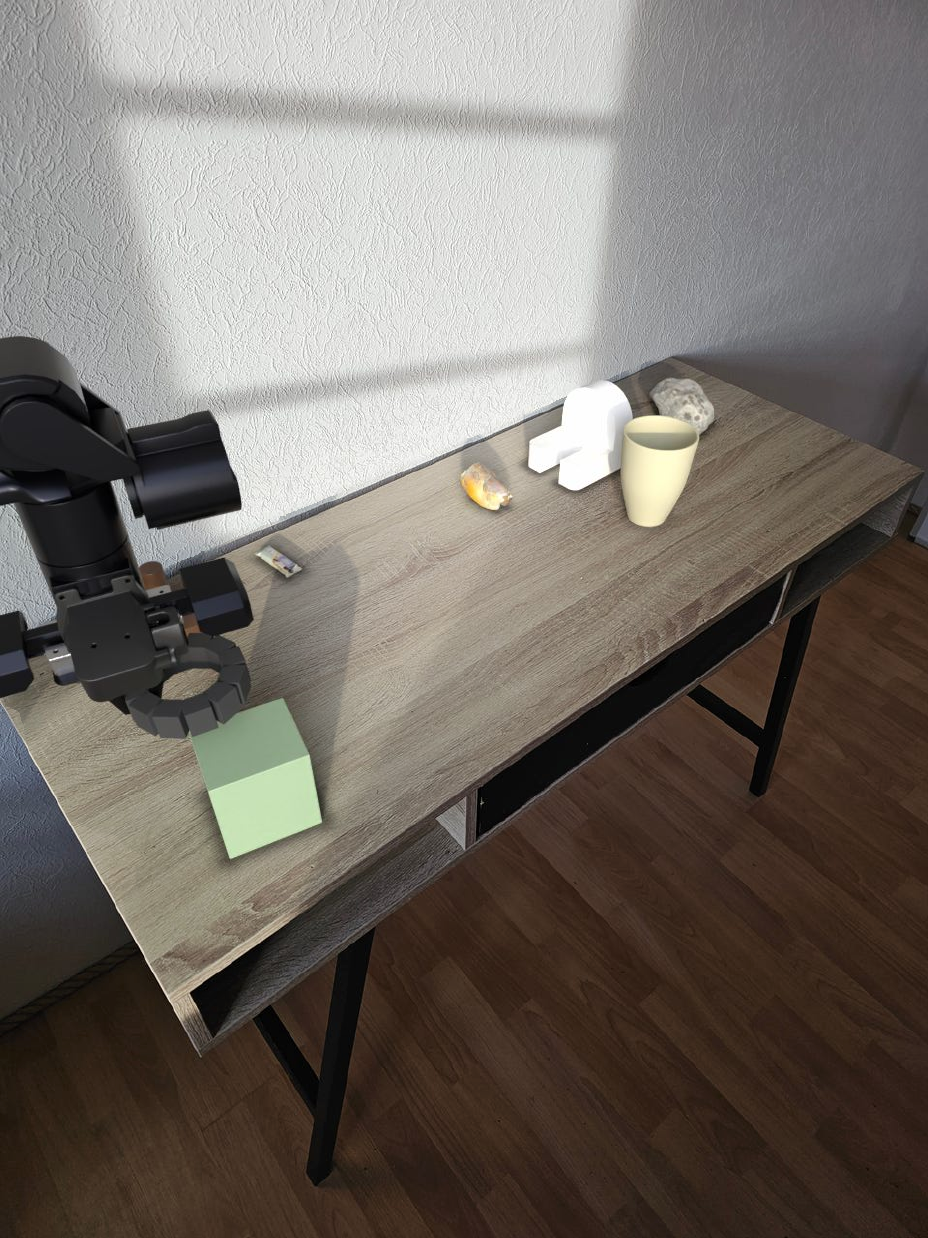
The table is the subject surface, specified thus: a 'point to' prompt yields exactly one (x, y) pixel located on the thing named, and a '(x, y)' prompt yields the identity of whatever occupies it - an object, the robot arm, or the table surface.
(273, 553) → the granola bar
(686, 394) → the decorative stone
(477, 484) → the shell
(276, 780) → the riser box
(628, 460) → the mug
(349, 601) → the table surface
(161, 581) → the stand
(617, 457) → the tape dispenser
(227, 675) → the chunky treaded tire
